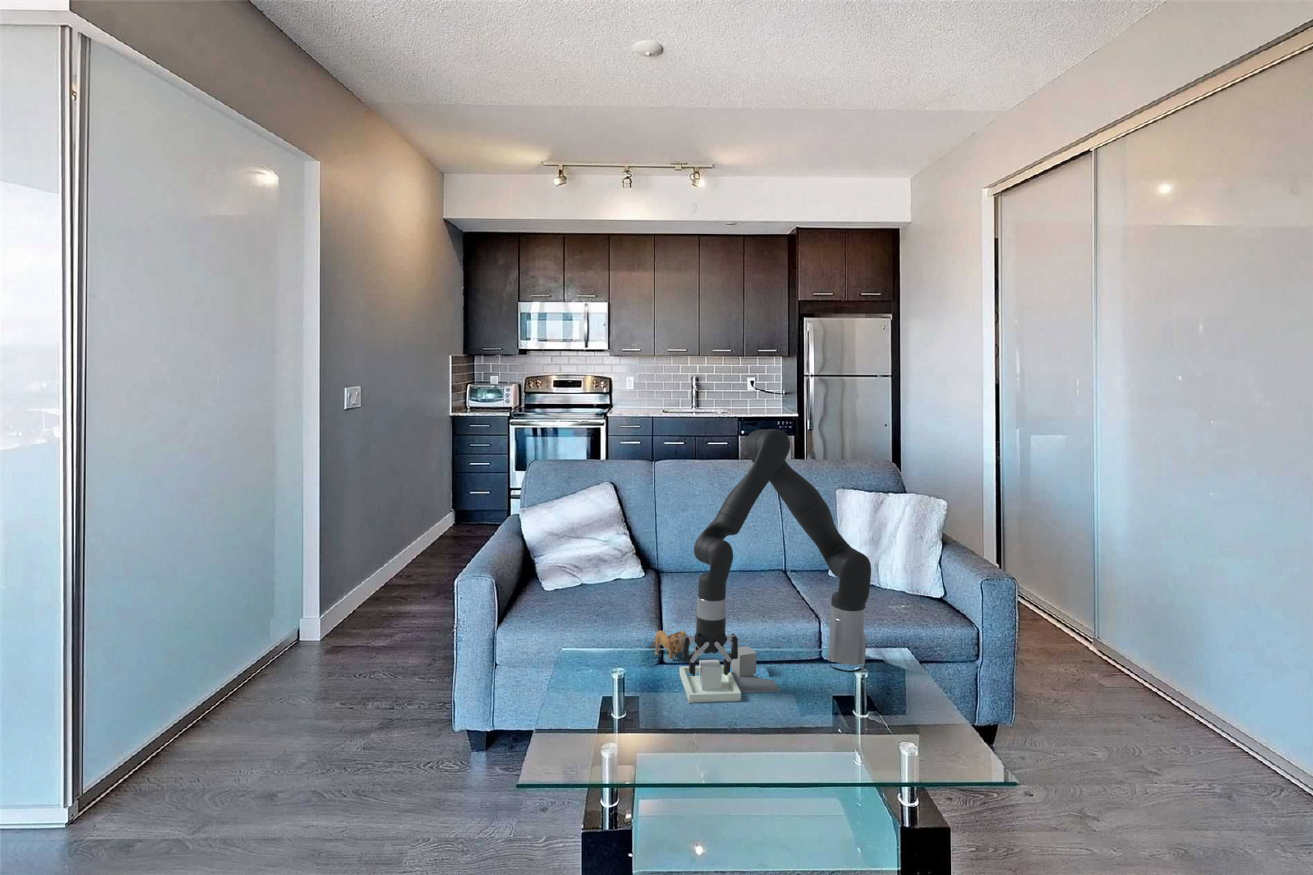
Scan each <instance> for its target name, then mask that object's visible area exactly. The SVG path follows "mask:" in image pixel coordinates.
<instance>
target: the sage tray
mask: <svg viewBox="0 0 1313 875" xmlns="http://www.w3.org/2000/svg"><path fill="white" fill-rule="evenodd" d="M720 665H721V664H720ZM721 667H722V679H721V690H703V691H702V690H701V687H700V684H699V676H698V675H697V676H687V675H686V674H687V673H690V672H689V665H687V666H685V665H684V666H683V665H682V666H679V673H680V674H679V677H680V679H681V683H682V685H683V688H684V689H683V690H684V692H685V696H686V699H687V701H688V705H692V704H693V703H718V702H719V703H720V702H721V703H722V702H723V703H726V702H741V701H742V693H741V692H740V690H739V688H738V686H737V684H736V682H735V680H734V678H733V676H732V674H731V672H730V673H728V675H725V674H724V664H723V665H721ZM695 673H699V665H696V666H695Z"/></svg>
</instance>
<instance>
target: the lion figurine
mask: <svg viewBox="0 0 1313 875" xmlns="http://www.w3.org/2000/svg"><path fill="white" fill-rule="evenodd" d="M684 635H687V632H686V631H685V630H682V631H681V630H680V631H677V632H675V633H671V634H669V635H668V634H667V633H666V632H665V631H664V630H658V631H657V632H656V633H655V638H654V643H653V644H652V645H650V646H648V649H653V648H654V647H655V652H654V653H655V656H656V655H657V656H659V655H660V653H659V651H662V648H661V646H662V647H663V648H665V649H666V650H668V655H669V656H668V657H669V658H668V659H673V660H674V659H676V657H678V654H679V653H680V652H681V653H682V649H683V638H684ZM674 657H675V658H674Z"/></svg>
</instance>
